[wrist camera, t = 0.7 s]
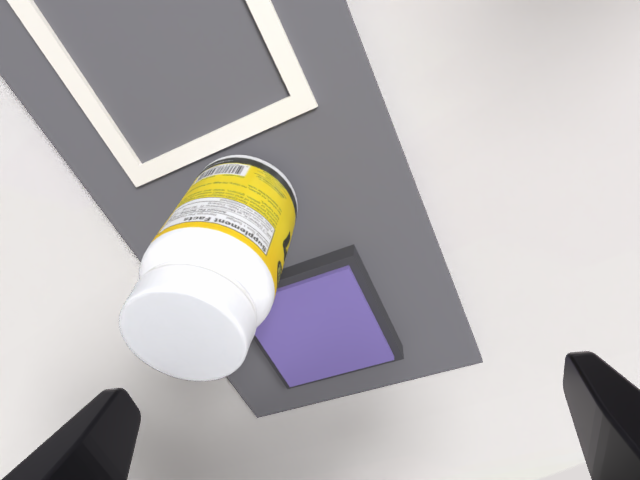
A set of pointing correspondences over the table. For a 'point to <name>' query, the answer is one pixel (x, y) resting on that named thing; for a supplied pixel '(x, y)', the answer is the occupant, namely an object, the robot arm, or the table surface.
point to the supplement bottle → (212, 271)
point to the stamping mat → (261, 142)
